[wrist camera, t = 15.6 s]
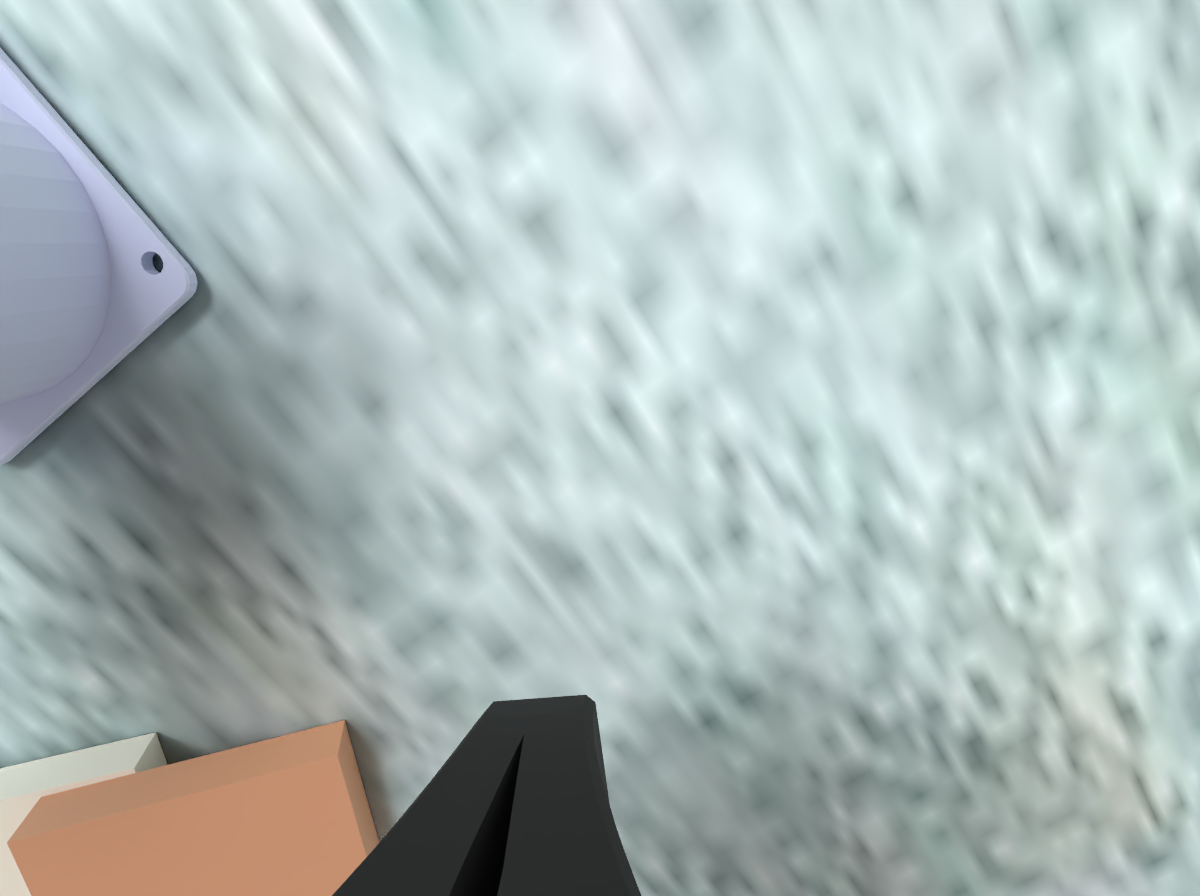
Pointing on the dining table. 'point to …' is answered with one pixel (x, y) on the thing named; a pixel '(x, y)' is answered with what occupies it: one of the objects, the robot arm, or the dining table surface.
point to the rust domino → (208, 825)
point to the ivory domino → (63, 787)
